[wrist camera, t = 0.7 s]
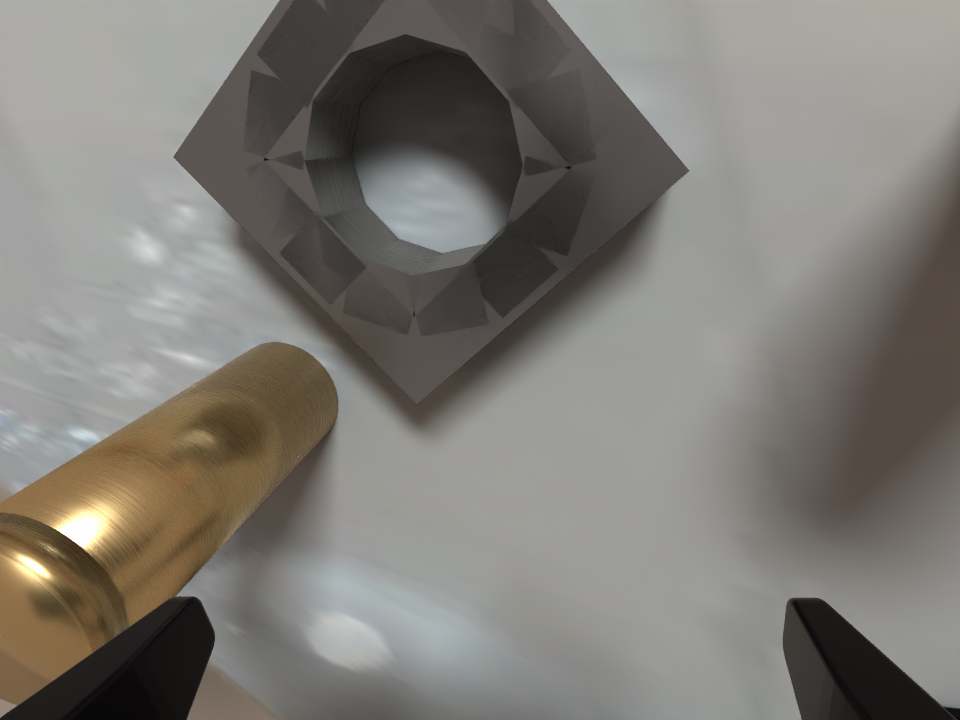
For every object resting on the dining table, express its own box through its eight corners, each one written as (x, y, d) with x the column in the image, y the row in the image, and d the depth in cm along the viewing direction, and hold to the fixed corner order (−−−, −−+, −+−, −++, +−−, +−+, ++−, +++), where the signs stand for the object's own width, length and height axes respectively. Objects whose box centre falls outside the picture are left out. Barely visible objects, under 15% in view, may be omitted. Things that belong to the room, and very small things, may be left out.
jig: (676, 163, 19) (689, 170, 16) (443, 366, 23) (416, 404, 20) (438, -120, 17) (399, -176, 14) (237, 152, 22) (173, 157, 18)
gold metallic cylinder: (348, 446, 25) (120, 723, 14) (247, 444, 27) (-45, 698, 15) (327, 340, 24) (46, 549, 12) (221, 342, 25) (-133, 536, 13)
